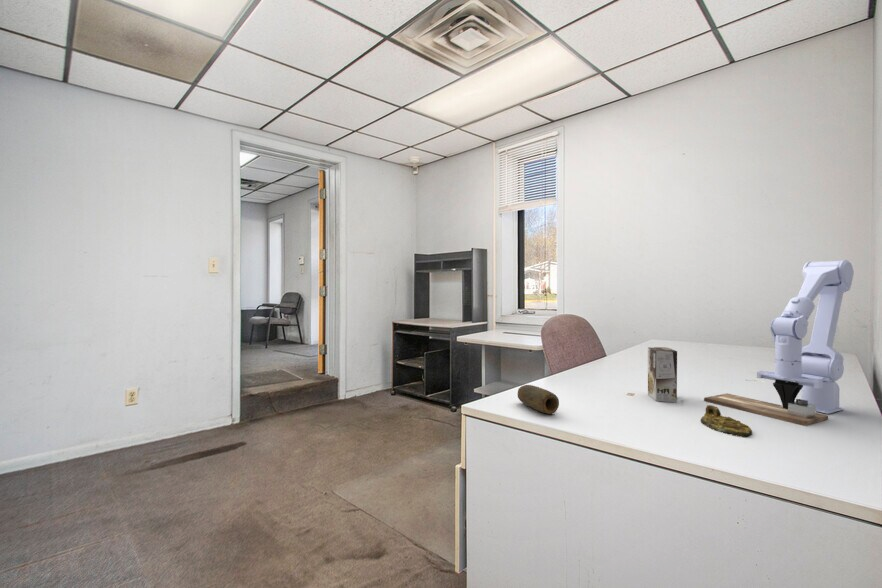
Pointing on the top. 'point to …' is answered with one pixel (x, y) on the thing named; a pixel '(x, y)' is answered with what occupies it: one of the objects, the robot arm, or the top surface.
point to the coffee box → (662, 374)
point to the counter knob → (802, 408)
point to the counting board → (762, 408)
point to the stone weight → (538, 399)
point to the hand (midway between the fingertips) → (787, 408)
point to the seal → (724, 423)
